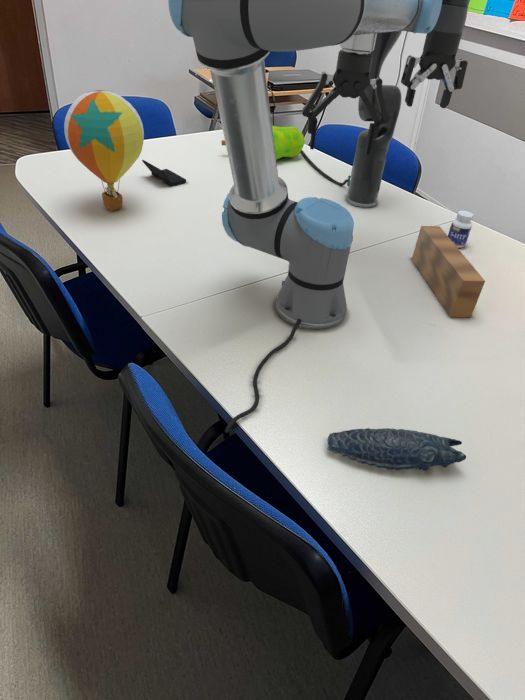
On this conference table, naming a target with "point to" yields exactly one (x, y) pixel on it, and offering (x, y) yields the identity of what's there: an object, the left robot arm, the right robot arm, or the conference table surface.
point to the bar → (447, 271)
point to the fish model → (395, 448)
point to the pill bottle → (460, 228)
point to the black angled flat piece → (165, 175)
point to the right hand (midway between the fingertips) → (425, 106)
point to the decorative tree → (286, 141)
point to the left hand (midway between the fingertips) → (339, 150)
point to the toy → (105, 138)
